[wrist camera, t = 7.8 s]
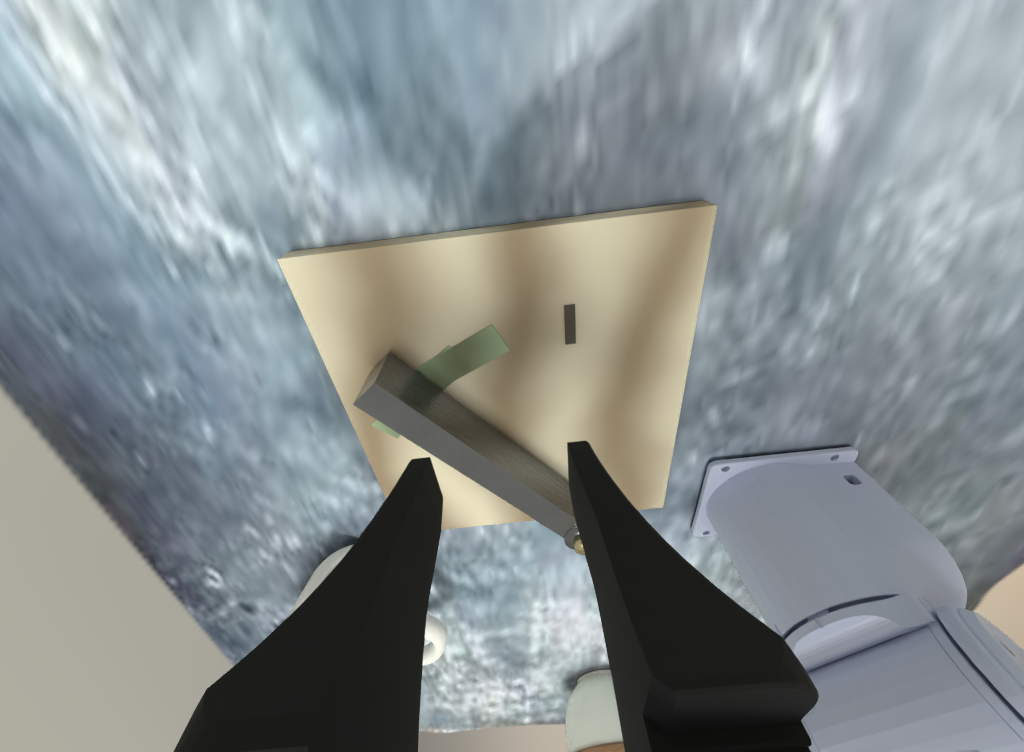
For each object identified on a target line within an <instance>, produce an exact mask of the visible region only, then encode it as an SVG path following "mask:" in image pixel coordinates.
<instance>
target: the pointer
mask: <svg viewBox="0 0 1024 752" xmlns="http://www.w3.org/2000/svg"><path fill="white" fill-rule="evenodd" d="M353 405H354V406H356V407H357V408H359V409H361V410H362V411H364V412H365V413H367V414H368V415H370V416H372V417H373V418H375V419H376V420H378V421H380V422H381V423H383V424H384V425H386V426H387V427H389V428H391V429H392V430H394V431H395V432H397V433H398V434H400V435H402V436H403V437H405V438H406V439H408V440H410V441H411V442H413V443H414V444H416V445H417V446H419V447H421V448H422V449H424V450H425V451H427V452H429V453H430V454H432V455H433V456H435V457H436V458H438V459H440V460H441V461H443V462H444V463H446V464H448V465H449V466H451V467H452V468H454V469H455V470H457V471H459V472H460V473H462V474H463V475H465V476H467V477H468V478H470V479H471V480H473V481H474V482H476V483H478V484H479V485H481V486H482V487H484V488H485V489H487V490H489V491H490V492H492V493H493V494H495V495H497V496H498V497H500V498H501V499H503V500H504V501H506V502H508V503H509V504H511V505H512V506H514V507H516V508H517V509H519V510H520V511H522V512H523V513H525V514H527V515H528V516H530V517H531V518H533V519H535V520H536V521H538V522H539V523H541V524H542V525H544V526H546V527H547V528H549V529H550V530H552V531H554V532H555V533H557V534H558V535H560V536H561V537H563V538H564V540H565V544H566V545H567V546H568V547H569V548H572V549H575V551H576V553H578V554H581V555H585V552H584V549H583V545H582V542H581V538H580V534H579V531H578V527H577V524H576V520H575V517H574V512H573V506H572V501H571V495H570V489H569V483H568V482H566V481H565V480H564V479H562V478H561V477H560V476H558V475H557V474H556V473H554V472H553V471H551V470H550V469H549V468H547V467H546V466H545V465H543V464H542V463H541V462H539V461H538V460H536V459H535V458H534V457H532V456H531V455H530V454H528V453H527V452H526V451H524V450H523V449H521V448H520V447H519V446H517V445H516V444H515V443H513V442H512V441H511V440H509V439H508V438H506V437H505V436H504V435H502V434H501V433H500V432H498V431H497V430H496V429H494V428H493V427H492V426H490V425H489V424H487V423H486V422H485V421H483V420H482V419H481V418H479V417H478V416H477V415H475V414H474V413H472V412H471V411H470V410H468V409H467V408H466V407H464V406H463V405H462V404H460V403H459V402H457V401H456V400H455V399H453V398H452V397H451V396H449V395H448V394H447V393H445V392H444V391H442V390H441V389H440V388H438V387H437V386H436V385H434V384H433V383H432V382H430V381H429V380H428V379H426V378H425V377H423V376H422V375H421V374H419V373H418V372H417V371H415V370H414V369H413V368H411V367H410V366H408V365H407V364H406V363H404V362H403V361H402V360H400V359H399V358H398V357H396V356H395V355H393V354H392V353H391V352H389V353H388V354H387V355H386V356H385V357H384V358H383V359H382V360H381V361H380V362H379V363H378V364H377V365H376V366H375V367H374V368H373V369H372V370H371V371H370V373H369V375H368V377H367V378H366V380H365V382H364V384H363V386H362V388H361V390H360V392H359V394H358V396H357V398H356V400H355V401H354V403H353Z"/></svg>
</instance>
